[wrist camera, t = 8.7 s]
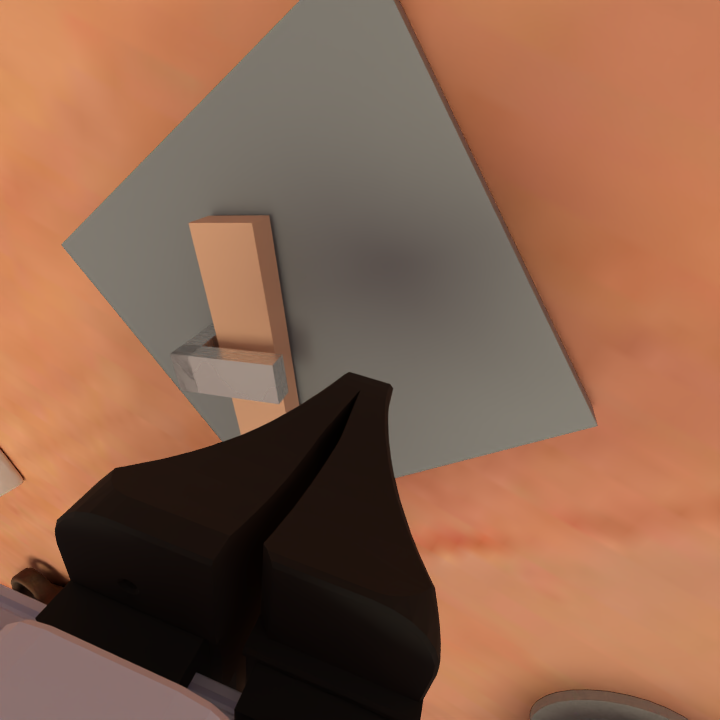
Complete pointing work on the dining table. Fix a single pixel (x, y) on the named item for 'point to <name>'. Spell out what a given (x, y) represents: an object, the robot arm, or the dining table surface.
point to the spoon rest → (8, 475)
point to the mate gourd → (598, 707)
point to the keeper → (229, 370)
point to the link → (245, 299)
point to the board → (347, 239)
